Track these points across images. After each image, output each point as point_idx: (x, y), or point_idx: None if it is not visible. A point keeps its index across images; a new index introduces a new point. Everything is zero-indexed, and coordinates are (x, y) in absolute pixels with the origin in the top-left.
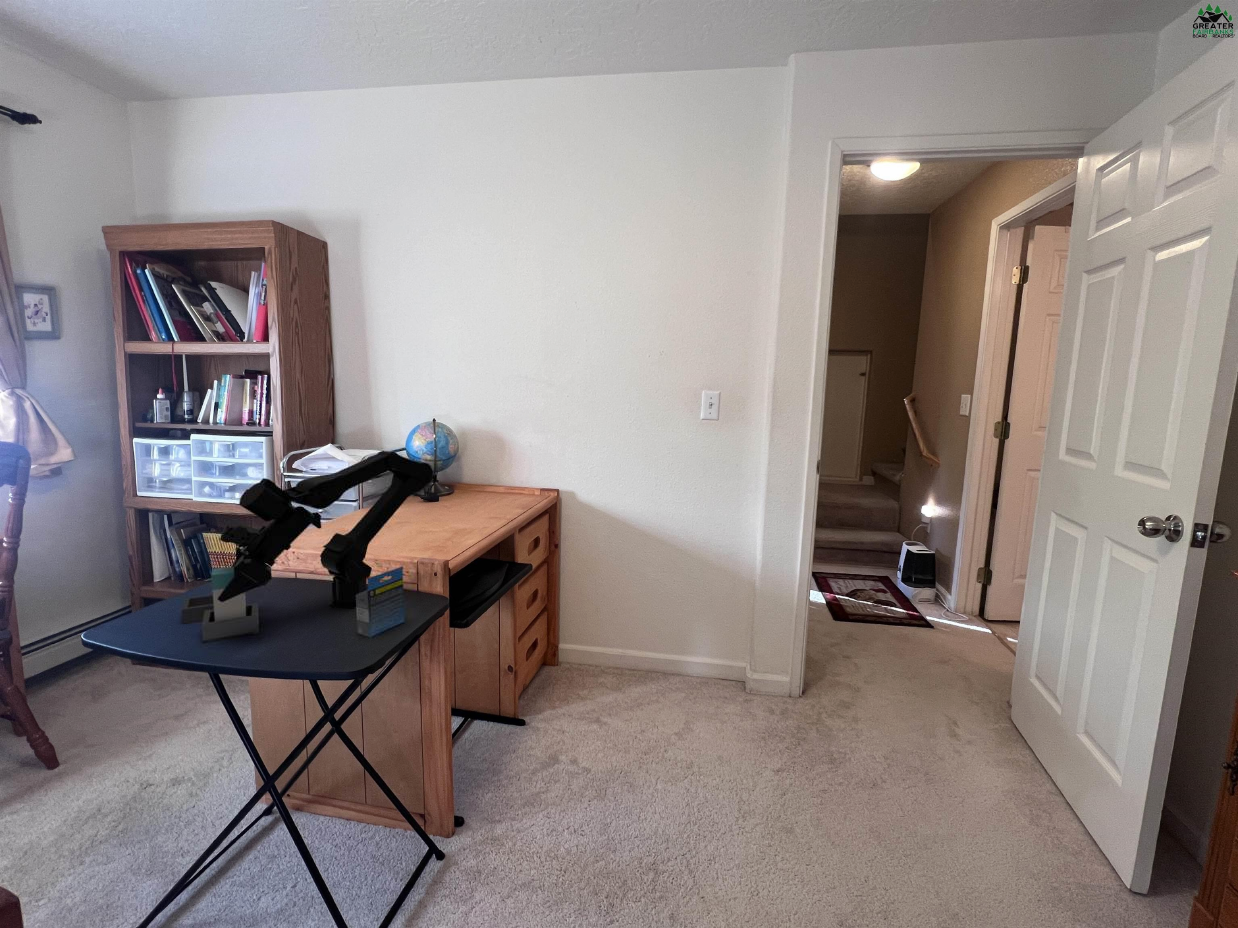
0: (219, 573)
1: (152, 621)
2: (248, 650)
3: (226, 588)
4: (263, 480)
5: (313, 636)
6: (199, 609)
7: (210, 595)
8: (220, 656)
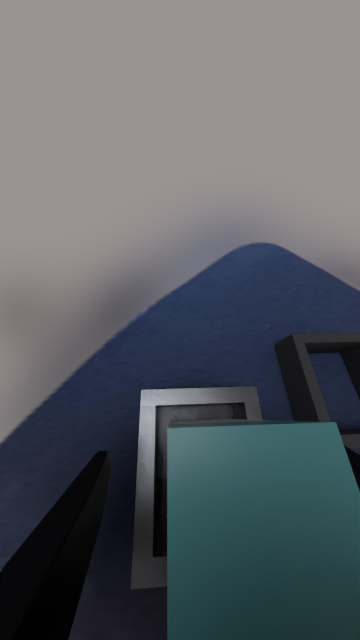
0: (188, 498)
1: (299, 298)
2: (28, 518)
3: (31, 538)
4: None
5: None
6: (299, 370)
7: None
8: (41, 442)
